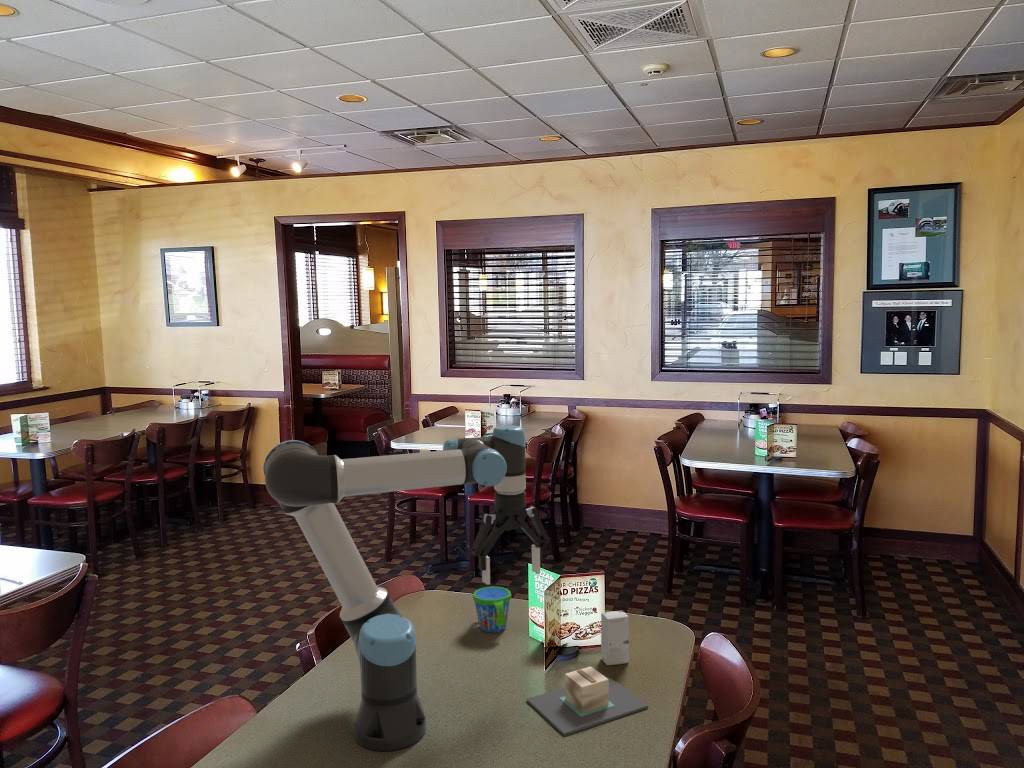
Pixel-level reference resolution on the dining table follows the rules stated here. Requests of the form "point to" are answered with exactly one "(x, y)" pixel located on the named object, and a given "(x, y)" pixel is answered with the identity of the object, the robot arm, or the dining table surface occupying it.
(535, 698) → the rubber mat
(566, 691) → the birch block
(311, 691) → the dining table surface
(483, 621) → the snack cup
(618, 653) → the skincare box
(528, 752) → the dining table surface
